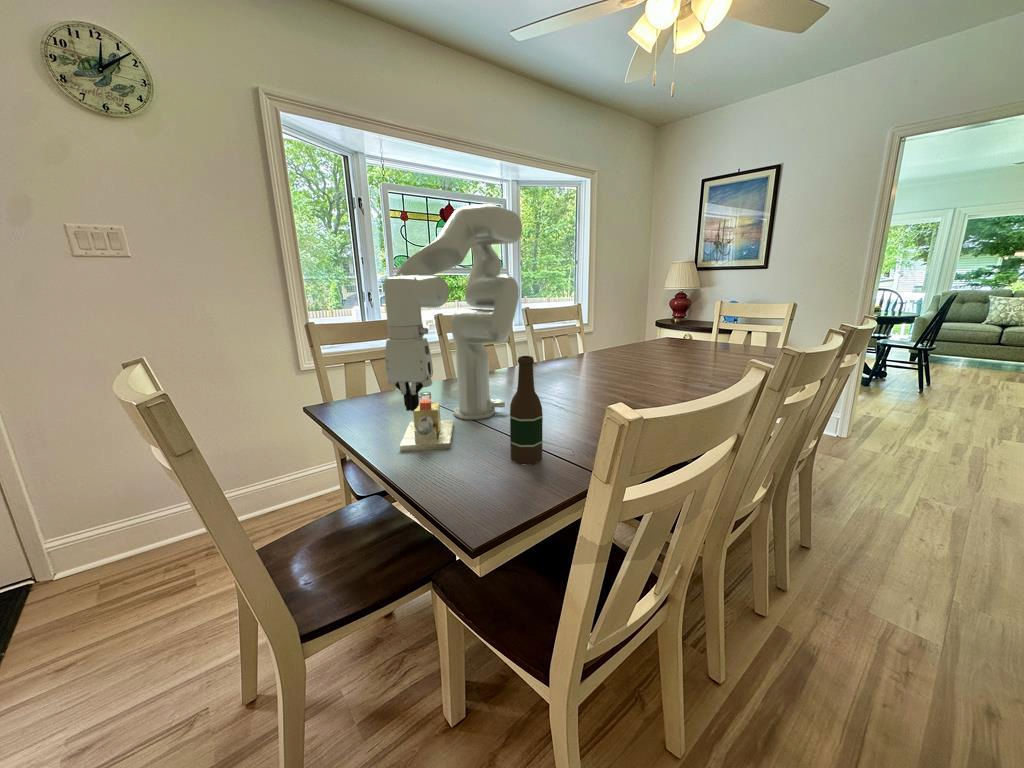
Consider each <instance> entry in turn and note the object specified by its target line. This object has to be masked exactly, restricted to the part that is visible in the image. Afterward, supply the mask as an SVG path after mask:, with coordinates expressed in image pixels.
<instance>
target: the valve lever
mask: <svg viewBox="0 0 1024 768" xmlns="http://www.w3.org/2000/svg"><path fill="white" fill-rule="evenodd" d="M431 402H432V392H431V391H422V392H420V399H419V403H420V411H422V410H431Z"/></svg>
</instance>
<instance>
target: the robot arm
mask: <svg viewBox="0 0 1024 768" xmlns="http://www.w3.org/2000/svg"><path fill="white" fill-rule="evenodd" d="M522 223H523V222H522V221H521V218H520V216H519V215H518V213H516V212H515V211H512V210H511V209H507V208H504V207H501V206H499V205H494V204H490V203H487V204H475V205H467V206H466V205H465V206H460V207H458V208H457V209H455V210H454V211H453V213H452V214H451V215H450V217H449V218H448V220H447V221H446V223H445V224H444V225H443V227H442V229H441V231H440V232H439V234H438V235H437V236H436V238H435V240H434V241H432V242H430V243H428V244H427V245H425V246H424V247H422V248H421V249H419V250H418V251H417V252H415V253H414V254H412V255H410V256H409V257H408V258H407V259H406V260H405V261H404V262H403V263H402V265H401V266H400V268H398V271H397V272H396V273H395V275H394V276H389V277H387V278H385V279H384V282H383V291H384V298H385V300H384V301H385V310H386V322H387V331H388V338H386V342H385V350H384V351H385V352H384V354H385V355H384V356H385V357H384V363H385V364H384V365H385V374H386V375H385V376H386V379H387V384H388V385H389V386H392V387H396V388H397V389H398V390H399V391H400V393H401V395H403V403H404V406H405V409H406V410H405V411H406V412H407V411H408V412H409V411H410V412H413V411H414V410H415V409H416V408H417V407H418V405H419V403H420V399H419V398H420V397H419V392H420V391H421V390H422V389H423V388H429V387H431V386H432V385H433V381H432V377H434V369H433V360H432V354H431V348H430V346H429V341H428V338H427V337H424V335H428V334H429V329H428V328H427V327H424V325H423V321H422V320H423V319H422V318H423V317H422V308H425V309H426V308H427V309H428V308H429V309H430V308H431V309H437V308H440V307H442V306H443V305H445V304H446V303H447V302H448V300H449V297H450V286H449V285H448V283H447V281H446V280H445V279H444V278H443V277H441V276H439V275H436V274H439V273H442V272H445V271H449V270H451V269H453V268H455V267H458V266H459V265H461V264H462V263H463V262H464V261H465V259H466V257H467V255H468V253H469V251H470V249H471V251H472V257H473V263H472V267H471V268H470V269H471V270H470V273H469V277H468V281H467V283H466V288H465V292H464V297H465V302H466V303H467V304H468V305H469V306H470V307H472V308H463V309H460V310H457V311H456V312H455V313H454V314H452V317H451V320H450V331H451V333H452V334H451V335H452V338H453V342H454V349H455V357H456V362H455V363H456V378H457V380H456V381H457V396H458V397H457V399H458V406H456V407H455V408H454V409H453V415H454V416H455V417H456V418H459V419H462V420H469V421H474V420H475V421H477V420H482V419H486V418H489V417H492V416H493V415H494V414H495V413H496V408H505V407H506V402H505V401H504V400H501V399H494V398H493V399H492V398H491V395H490V366H489V365H490V364H489V355H488V350H487V349H486V347H485V345H484V344H493V345H498V344H500V345H501V344H503V343H505V342H506V341H507V340H508V339H509V336H510V334H511V331H512V327H513V323H514V320H515V315H516V311H517V307H518V302H519V296H520V295H519V294H520V291H519V285H518V282H517V280H516V279H515V278H514V277H512V276H510V275H507V274H505V275H504V274H501V269H502V262H501V260H500V257H499V255H498V254H497V253H496V251H495V250H494V248H493V246H492V245H507V244H508V245H509V244H515V243H517V242H518V241H519V240H520V238H521V236H522V234H523V225H522Z"/></svg>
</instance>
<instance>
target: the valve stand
mask: <svg viewBox="0 0 1024 768" xmlns="http://www.w3.org/2000/svg"><path fill="white" fill-rule="evenodd" d="M412 412H413V413H412V414H413V421H409V424H408V426H407V428H406V431H405V433H404V435H403V437H402V440H401V442H400V444H399V449H400V452H410V451H411V452H414V451H429V450H431V451H432V450H450V449H451V446H452V439H451V438H453V432H452V431H453V430H454V419H444V420H443V419H441V407H440V402H439V401H438V402H433V401H431V410H422V411H420V402H419V405H418V407H417V408H416V409H415V410H414V411H412ZM450 445H451V446H450Z"/></svg>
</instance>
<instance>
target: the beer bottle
mask: <svg viewBox="0 0 1024 768" xmlns="http://www.w3.org/2000/svg"><path fill="white" fill-rule="evenodd" d="M517 363H518V374H517V375H518V377H517V388H516V392H515V394H514V395H513V396H512V398H511V402H510V407H509V425H510V426H509V430H510V431H509V433H510V435H509V437H510V439H509V440H510V460H511V461H512V462H513V461H514V462H513V463H517V464H518V463H519V464H518V465H520V464H532V465H535V464H537V463H539V462H540V460H541V461H542V458H543V420H544V419H543V415H544V414H543V406H542V403H541V400H540V397H539V395H538V394H537V393H536V389H535V380H534V379H535V378H534V363H535V361H534V357H533V356H531V355H521V356H518V358H517ZM538 461H539V462H538ZM536 462H537V463H536ZM534 463H535V464H534Z"/></svg>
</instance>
